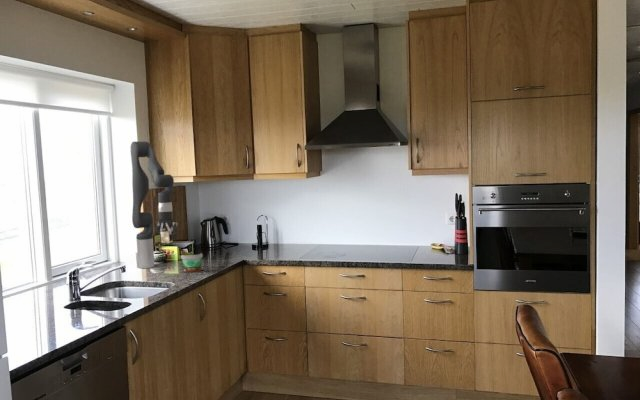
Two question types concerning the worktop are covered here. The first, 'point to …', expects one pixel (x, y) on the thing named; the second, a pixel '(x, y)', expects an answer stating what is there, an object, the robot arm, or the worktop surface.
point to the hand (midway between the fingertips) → (167, 240)
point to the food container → (192, 263)
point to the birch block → (165, 237)
